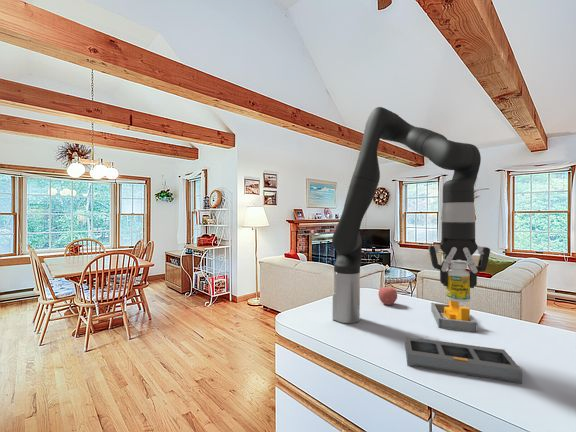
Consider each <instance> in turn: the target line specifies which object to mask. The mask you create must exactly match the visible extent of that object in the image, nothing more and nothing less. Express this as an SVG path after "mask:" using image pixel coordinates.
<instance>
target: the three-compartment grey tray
mask: <svg viewBox="0 0 576 432" xmlns="http://www.w3.org/2000/svg"><path fill="white" fill-rule="evenodd" d="M404 350H405V356H406V364H407V367H408V366H409V367H415V368H420V369H426V370H433V371H439V372H445V373H450V374H452V373H453V374H458V375H465V376H471V377H477V378H482V379H489V380H495V381H499V382H500V381H501V382H506V383H507V382H508V383H512V384H520V385H522V384H523V370H522V369H521V368H520V366H519V365H518V364H517V363H516V361H514V359H513V358H512V357H511V356H510V355H509V354H508V352H507V351H506V350H505V349H502V348H497V347H495V348H494V347H486V346H478V345H472V344H466V343H465V344H463V343H456V342H449V341H442V340H435V339H426V338H425V339H424V338H418V337H410V336H405V338H404Z"/></svg>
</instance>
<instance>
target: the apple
mask: <svg viewBox="0 0 576 432" xmlns="http://www.w3.org/2000/svg"><path fill="white" fill-rule="evenodd" d="M378 298H379V301H380V302H381V303H382V304H384V305H386V306H391V305H393V304H395V302H396V301H397V299H398V293H397V291H396V289H395V288H393V287H390V286H388V285H386V286H382V287H381V288H380V289H378Z"/></svg>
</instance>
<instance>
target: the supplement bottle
mask: <svg viewBox="0 0 576 432" xmlns="http://www.w3.org/2000/svg"><path fill="white" fill-rule="evenodd" d="M448 268H449V269H447V270H446V272H447V286H445V289H446V290H445V292H446V293H445V295H446V299H447V300H448V301H449V300H451V301H456V302H459V303H468V302H471V288H470V273H469V272H470V271H468V270H467V268H468V265H467V263H466V262H465V261H459V260H452V261H451V263H450V264H449V266H448Z"/></svg>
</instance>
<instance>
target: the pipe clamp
mask: <svg viewBox="0 0 576 432" xmlns="http://www.w3.org/2000/svg"><path fill="white" fill-rule="evenodd" d="M459 303H460V302H456V301H451V300H449V299H448V305H449V307H444V312H443V316H444V317H446V319H454V320H463V321H470V316H471V312H470V311H471V309H470V308H469V307H468V306H463V307H459V306H460V304H459Z"/></svg>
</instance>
